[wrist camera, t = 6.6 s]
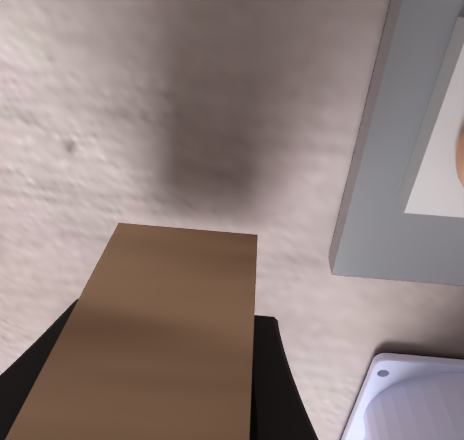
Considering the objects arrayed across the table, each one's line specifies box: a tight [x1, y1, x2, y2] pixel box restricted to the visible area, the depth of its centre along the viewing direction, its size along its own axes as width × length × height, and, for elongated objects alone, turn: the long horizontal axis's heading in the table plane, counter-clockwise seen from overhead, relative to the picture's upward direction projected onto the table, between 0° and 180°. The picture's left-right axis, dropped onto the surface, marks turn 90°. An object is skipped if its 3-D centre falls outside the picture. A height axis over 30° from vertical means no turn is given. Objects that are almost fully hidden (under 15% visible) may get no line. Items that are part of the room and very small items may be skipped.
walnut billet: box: [5, 223, 257, 440], centre depth 10 cm, size 4×4×7 cm
